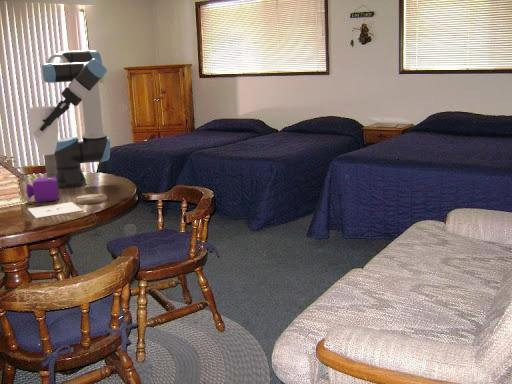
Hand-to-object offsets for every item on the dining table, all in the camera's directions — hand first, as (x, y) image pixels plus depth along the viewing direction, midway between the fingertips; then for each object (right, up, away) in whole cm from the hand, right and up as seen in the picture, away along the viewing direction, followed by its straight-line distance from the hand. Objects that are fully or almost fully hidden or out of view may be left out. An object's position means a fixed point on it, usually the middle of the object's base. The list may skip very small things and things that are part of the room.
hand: (37, 135), depth 220 cm
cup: (+3, -10, +3) cm, 11 cm away
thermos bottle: (-23, -14, +82) cm, 86 cm away
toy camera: (-8, -26, +26) cm, 38 cm away
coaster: (+15, -26, +22) cm, 37 cm away
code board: (+4, -30, +7) cm, 31 cm away
